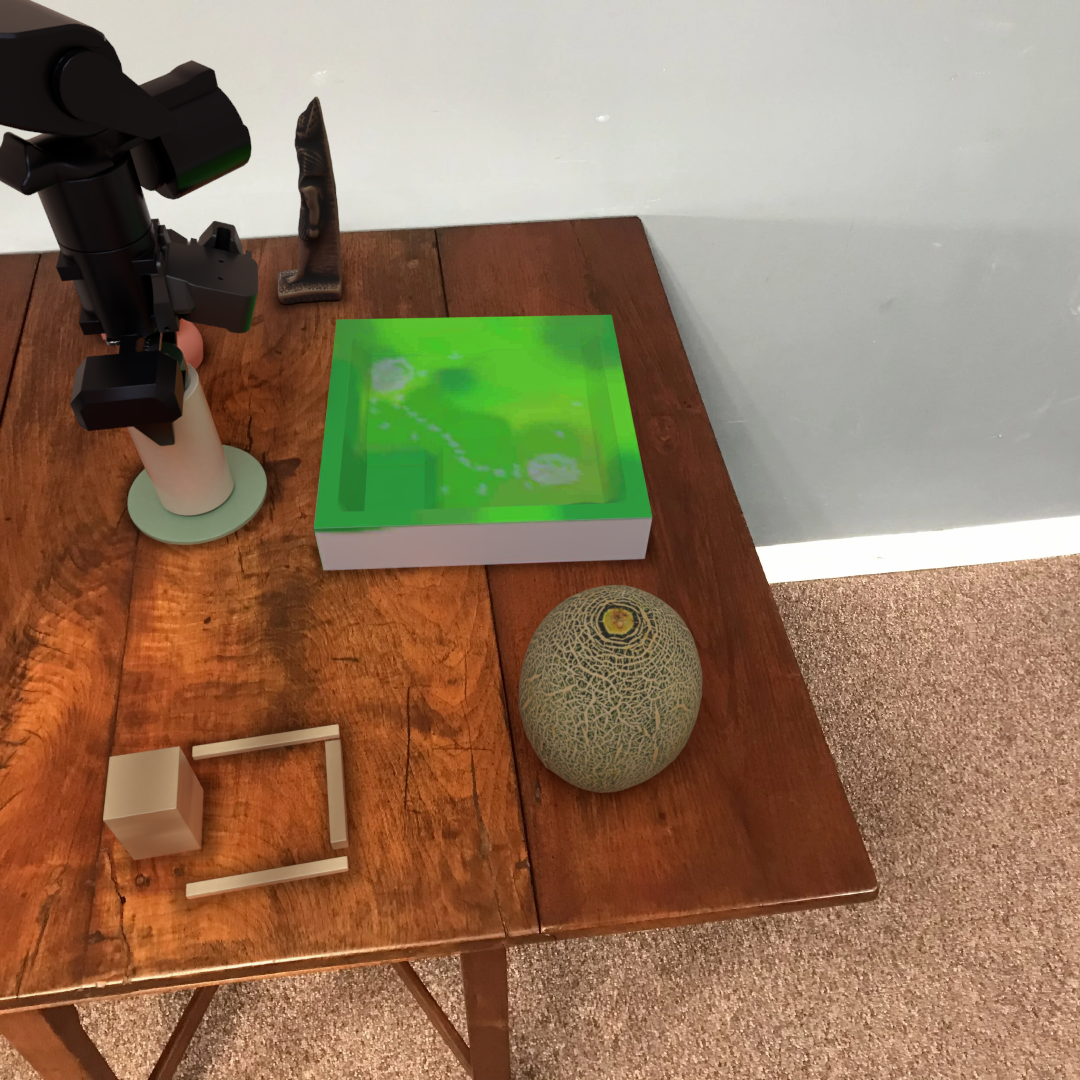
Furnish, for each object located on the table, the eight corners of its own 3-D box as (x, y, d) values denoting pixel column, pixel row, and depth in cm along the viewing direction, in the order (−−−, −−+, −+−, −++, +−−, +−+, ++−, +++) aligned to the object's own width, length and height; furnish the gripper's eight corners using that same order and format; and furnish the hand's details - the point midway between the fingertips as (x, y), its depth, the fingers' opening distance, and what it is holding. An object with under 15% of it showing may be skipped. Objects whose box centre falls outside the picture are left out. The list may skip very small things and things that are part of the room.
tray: (606, 358, 90) (611, 314, 86) (644, 559, 74) (652, 517, 70) (343, 363, 88) (336, 319, 84) (323, 571, 72) (313, 528, 68)
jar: (41, 475, 68) (132, 361, 63) (53, 420, 72) (139, 308, 66) (204, 539, 77) (298, 444, 71) (206, 487, 80) (295, 392, 75)
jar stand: (130, 910, 55) (96, 872, 51) (142, 758, 62) (114, 712, 57) (350, 871, 57) (337, 831, 53) (341, 727, 64) (328, 680, 59)
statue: (279, 283, 96) (238, 85, 81) (349, 278, 97) (322, 82, 82) (279, 308, 93) (237, 108, 78) (351, 302, 94) (323, 104, 79)
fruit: (531, 662, 67) (538, 525, 56) (687, 685, 67) (726, 552, 55) (503, 810, 60) (504, 688, 49) (677, 839, 59) (720, 721, 48)
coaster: (143, 563, 72) (141, 559, 72) (117, 470, 78) (115, 466, 78) (284, 519, 75) (283, 515, 75) (248, 433, 82) (247, 429, 81)
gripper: (235, 305, 54) (282, 492, 66) (238, 146, 65) (278, 330, 77) (28, 322, 52) (115, 511, 64) (69, 156, 64) (136, 342, 76)
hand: (170, 415), depth 70 cm, fingers closed on jar, 6 cm apart
